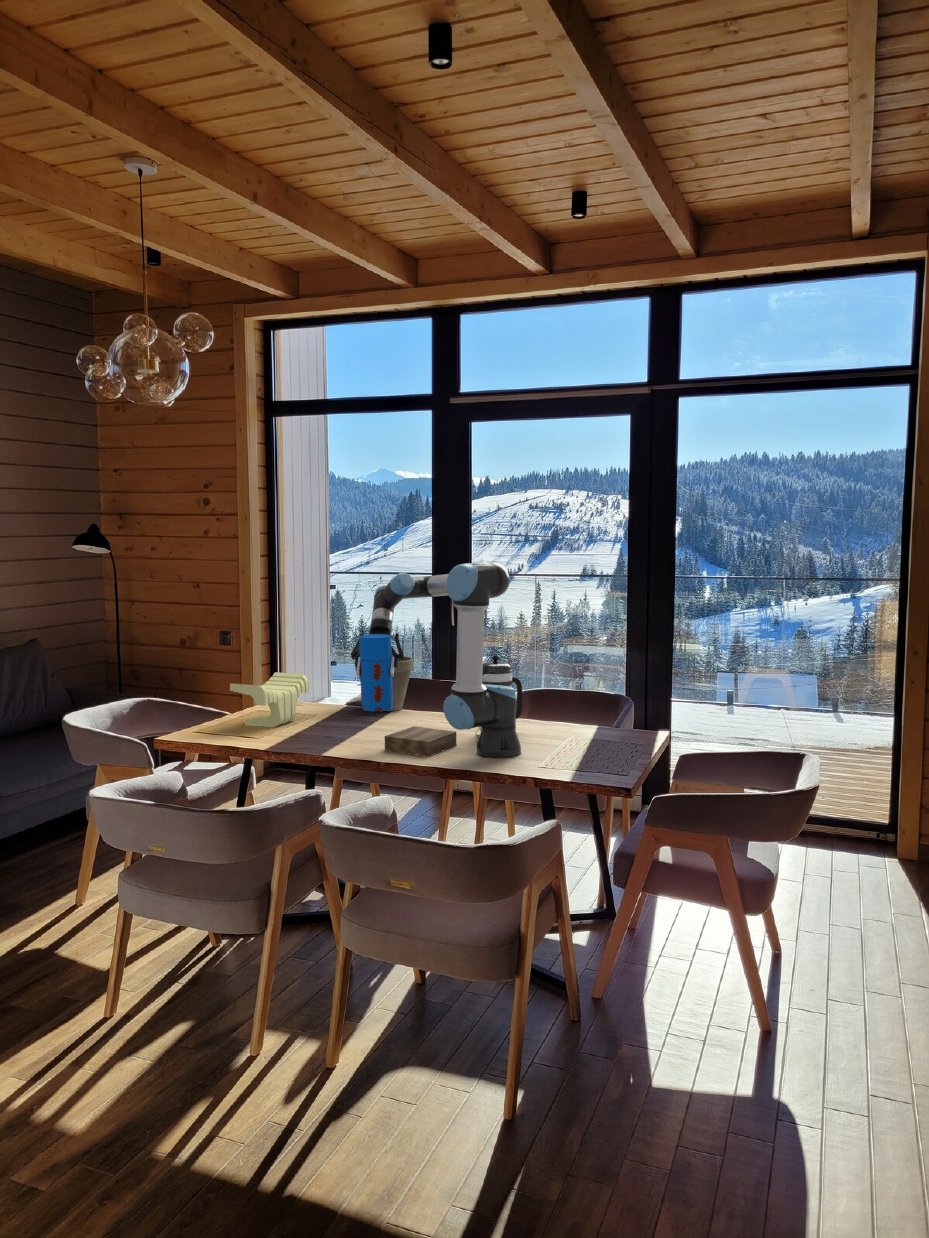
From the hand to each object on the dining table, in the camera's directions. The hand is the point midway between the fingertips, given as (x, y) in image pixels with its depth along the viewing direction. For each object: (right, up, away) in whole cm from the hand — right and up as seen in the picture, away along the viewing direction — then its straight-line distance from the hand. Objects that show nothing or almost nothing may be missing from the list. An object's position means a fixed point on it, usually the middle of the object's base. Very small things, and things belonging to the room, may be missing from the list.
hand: (374, 674), depth 310 cm
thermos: (0, -12, +4) cm, 13 cm away
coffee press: (+43, -24, +26) cm, 56 cm away
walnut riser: (+15, -26, +8) cm, 31 cm away
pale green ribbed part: (-46, -23, +51) cm, 73 cm away
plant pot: (-4, -20, +80) cm, 82 cm away
